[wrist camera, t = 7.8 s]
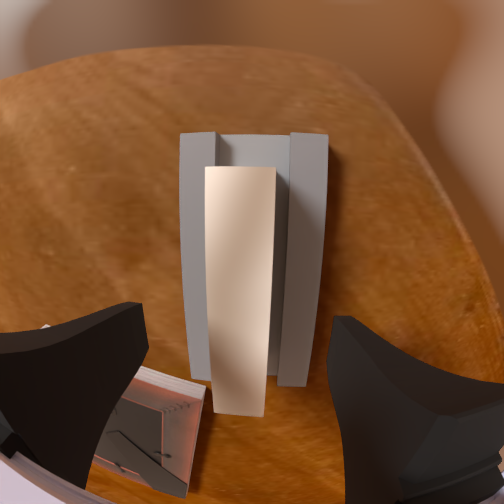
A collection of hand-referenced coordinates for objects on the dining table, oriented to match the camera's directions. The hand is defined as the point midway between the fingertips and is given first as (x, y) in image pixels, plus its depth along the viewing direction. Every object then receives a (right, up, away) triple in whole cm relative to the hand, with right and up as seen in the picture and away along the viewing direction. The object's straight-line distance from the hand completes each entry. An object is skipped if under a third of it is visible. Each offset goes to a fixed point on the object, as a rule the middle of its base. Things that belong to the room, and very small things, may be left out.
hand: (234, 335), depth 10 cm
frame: (+1, +2, +7) cm, 8 cm away
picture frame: (-13, -16, +15) cm, 25 cm away
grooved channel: (+1, +2, +8) cm, 8 cm away
